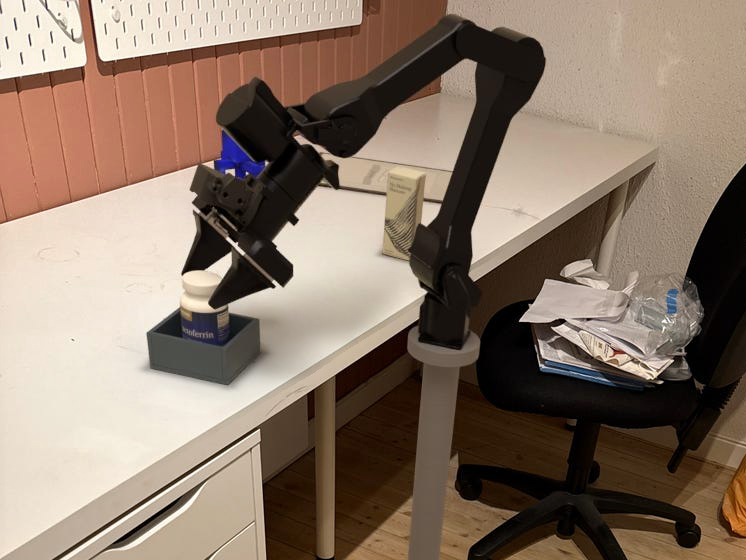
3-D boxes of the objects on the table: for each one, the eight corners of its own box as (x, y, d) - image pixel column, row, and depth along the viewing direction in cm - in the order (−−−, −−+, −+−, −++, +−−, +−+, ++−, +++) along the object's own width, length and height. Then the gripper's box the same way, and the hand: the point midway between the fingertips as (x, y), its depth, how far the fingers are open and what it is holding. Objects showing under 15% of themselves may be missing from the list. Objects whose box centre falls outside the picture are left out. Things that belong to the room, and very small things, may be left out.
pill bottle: (175, 359, 119) (168, 280, 113) (197, 342, 123) (191, 264, 117) (218, 369, 118) (213, 290, 112) (238, 351, 123) (234, 274, 116)
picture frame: (463, 173, 197) (319, 152, 197) (464, 172, 197) (319, 151, 196) (454, 204, 181) (297, 182, 180) (454, 203, 180) (297, 180, 180)
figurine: (267, 204, 169) (265, 129, 161) (260, 217, 164) (257, 141, 156) (224, 198, 169) (220, 123, 161) (215, 212, 163) (210, 135, 155)
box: (381, 254, 157) (385, 170, 148) (391, 247, 160) (395, 164, 152) (411, 261, 156) (417, 178, 147) (421, 254, 159) (426, 171, 151)
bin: (260, 352, 125) (259, 318, 122) (227, 385, 117) (225, 349, 114) (187, 337, 125) (184, 302, 123) (150, 368, 118) (145, 332, 115)
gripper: (202, 116, 112) (119, 220, 114) (264, 164, 101) (171, 278, 103) (267, 184, 121) (189, 279, 123) (331, 234, 110) (244, 338, 112)
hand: (197, 291), depth 115 cm, fingers open, 9 cm apart
